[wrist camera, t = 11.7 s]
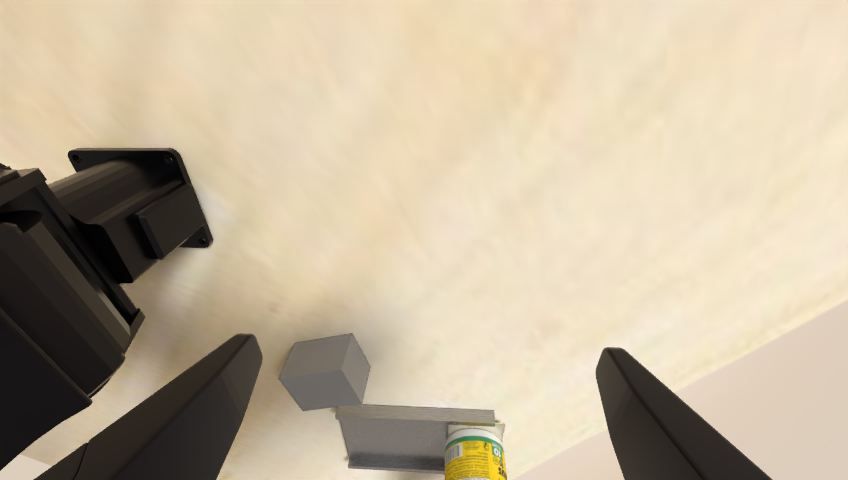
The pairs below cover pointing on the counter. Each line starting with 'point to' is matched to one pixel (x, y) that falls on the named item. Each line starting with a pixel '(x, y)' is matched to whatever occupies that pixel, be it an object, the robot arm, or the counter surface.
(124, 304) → the robot arm
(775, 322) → the counter surface
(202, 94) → the counter surface
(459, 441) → the supplement bottle
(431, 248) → the counter surface
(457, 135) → the counter surface
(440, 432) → the grey flat tray
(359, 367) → the block
